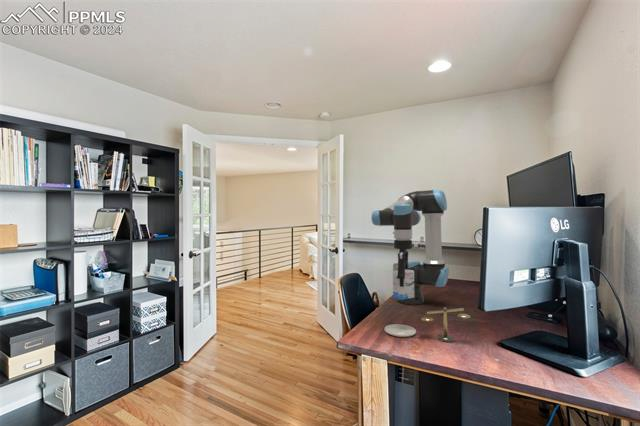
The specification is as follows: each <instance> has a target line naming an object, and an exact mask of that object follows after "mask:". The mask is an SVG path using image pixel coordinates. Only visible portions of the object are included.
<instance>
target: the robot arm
mask: <svg viewBox="0 0 640 426" xmlns="http://www.w3.org/2000/svg"><path fill="white" fill-rule="evenodd" d="M447 209H448V202H447V198H446V194H445V192H444V191H443V190H441V189H430V190H415V191H412V192H408V193H406V194H404V195H402V196H400V197H399V198H398V199H397V201H396V202H393V203H392V204H391V205H389V206H387V207H385V208H383V209H381V210H379V209H378V210H373V211H372V214H371V222H372V225H373V226H378V227H382V226H383V227H385V226H387V227H388V226H389V227H390V226H391V227H393V230H394V231H393V232H392V235H393V238H394V240H393V242H394V243H393V246H394V247H393V248H394V249H395V250H399V252H398V253H397V263H398V266H397V267H398V276H397V278H398V285H399V294H403V295H405V294H406V293H405V269H408V270H414V298H409V299H404V300H399V299H396V300H398V301H399V302H398V301H397V302H398V303H400V302H401V304H403V303H404V305H409V304H410V305H411V306H415V305H416V306H417V305H423V304H424V303H425V298H424V295H423V292H422V289H421V288H422V287H421V286H428V287H429V286H430V287H435V288H437V287H438V288H443V287H445V286H446V285H447V282H448V279H449V273H450V272H449V267H448V266H447V265H446V263H445V261H444V260H443V252H442V251H443V250H442V249H443V247H442V243H443V242H442V216H443V215H444V213H445V211H447ZM420 212H421V213H420ZM421 215H422V216H423V217H424V234H425V236H424V238H425V239H424V240H425V241H424V242H425V243H424V244H425V245H424V246H425V259H424V260H423V261H422V264H421V262H420V261H417V260H416V261H413V260H412V261H409V251H408V250H411V249H413V241H412V239H413V229H412V228H413V227H414V226H417V225H419V223H420V222H421V218H422V217H421Z"/></svg>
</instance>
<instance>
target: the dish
mask: <svg viewBox="0 0 640 426" xmlns="http://www.w3.org/2000/svg"><path fill="white" fill-rule="evenodd" d="M384 332H385V333H386V334H388V335H390V336H392V337H396V338H397V337H398V338H410V337H412V336H415V335H416V334H417V330H416V329H415V328H414V327H412V326H411V325H407V324H402V323H401V324H400V323H399V324H398V323H394V324H387V325H386V326H385V327H384Z"/></svg>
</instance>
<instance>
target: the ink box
mask: <svg viewBox="0 0 640 426" xmlns="http://www.w3.org/2000/svg"><path fill="white" fill-rule="evenodd" d="M397 276H398V262H396V263H393V264H392V298H393V299H396V300H397V299H399V300H404V299H409V298H414V270H408V269H405V293H406V294H405V295H403V294H399V285H398V278H397Z"/></svg>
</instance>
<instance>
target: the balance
mask: <svg viewBox="0 0 640 426" xmlns="http://www.w3.org/2000/svg"><path fill="white" fill-rule="evenodd" d="M464 311H465V308H464V307H460V308H451V309H448V308H447V307H446V306H445V307H443V308H442V309H440V310H431V311H430V310H429V311H426V314H427V315H431V314H432V315H433V314H442V319H443V321H442V322H443V324H442V325H443V333H441V334H440V333H439V334H437V339H438V340H439V341H440V342H444V343H454V341H455V338H454V337H455V336H453V335H451V334H448V313H451V312H453V313H455V312H464ZM457 317H458V318H461V319H470V318H471V315H470V314H467V313H458V314H457ZM421 320H422V321H424V322H433V321H434V318H432V317H430V316H423V317H421Z"/></svg>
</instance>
